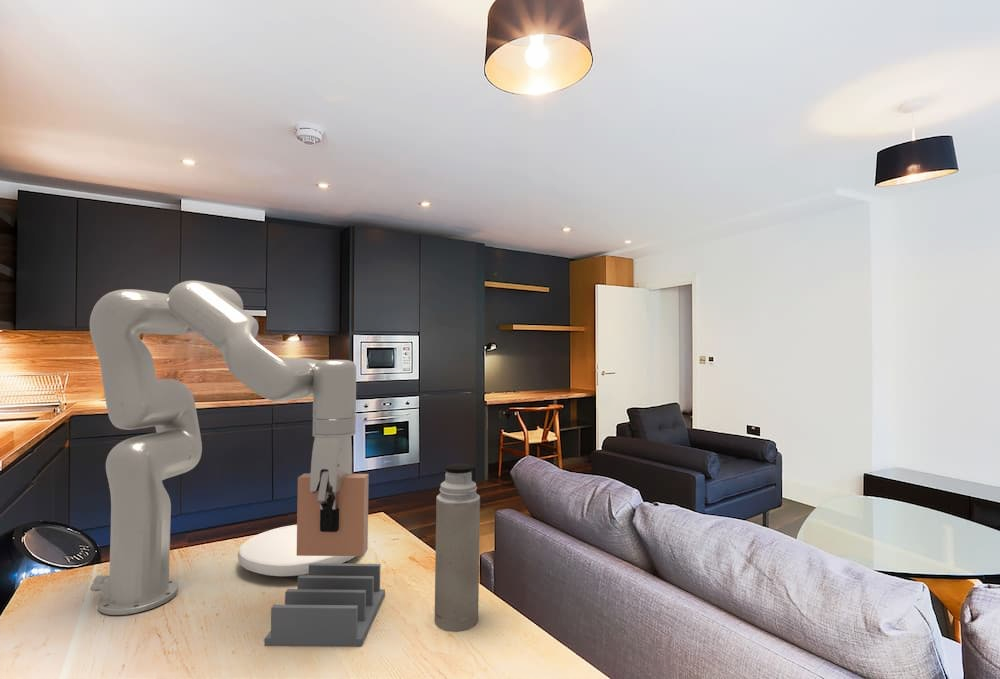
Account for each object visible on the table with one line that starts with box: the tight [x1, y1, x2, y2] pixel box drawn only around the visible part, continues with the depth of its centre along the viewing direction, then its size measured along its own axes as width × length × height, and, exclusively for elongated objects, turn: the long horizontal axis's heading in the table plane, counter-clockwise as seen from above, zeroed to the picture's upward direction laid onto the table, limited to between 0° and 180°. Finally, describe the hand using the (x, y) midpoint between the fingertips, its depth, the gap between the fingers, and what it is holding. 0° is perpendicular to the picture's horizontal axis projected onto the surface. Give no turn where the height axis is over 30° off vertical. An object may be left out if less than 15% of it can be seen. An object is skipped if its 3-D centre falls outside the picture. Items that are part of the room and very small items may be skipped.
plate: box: [237, 524, 356, 577], centre depth 118 cm, size 28×6×27 cm
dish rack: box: [263, 563, 386, 647], centre depth 92 cm, size 16×18×6 cm
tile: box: [296, 472, 370, 557], centre depth 93 cm, size 12×3×14 cm, turn 90°
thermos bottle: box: [434, 463, 481, 632], centre depth 93 cm, size 8×8×28 cm
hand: (332, 526), depth 93 cm, fingers closed on tile, 3 cm apart
